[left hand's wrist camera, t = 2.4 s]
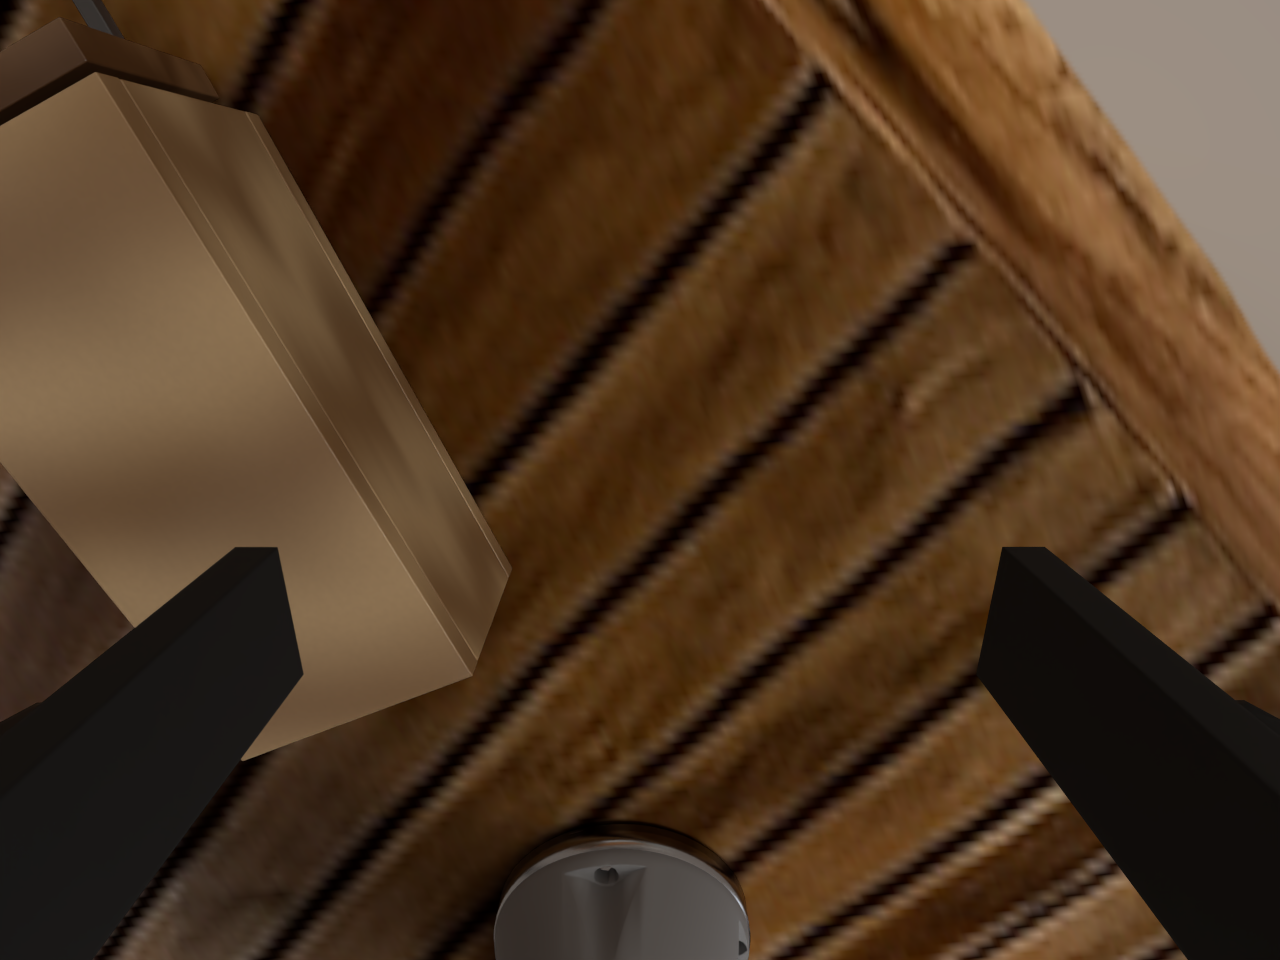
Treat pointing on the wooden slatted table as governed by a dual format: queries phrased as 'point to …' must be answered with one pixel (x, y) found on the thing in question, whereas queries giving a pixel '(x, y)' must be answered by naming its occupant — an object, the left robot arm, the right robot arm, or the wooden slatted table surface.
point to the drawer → (88, 62)
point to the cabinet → (225, 397)
